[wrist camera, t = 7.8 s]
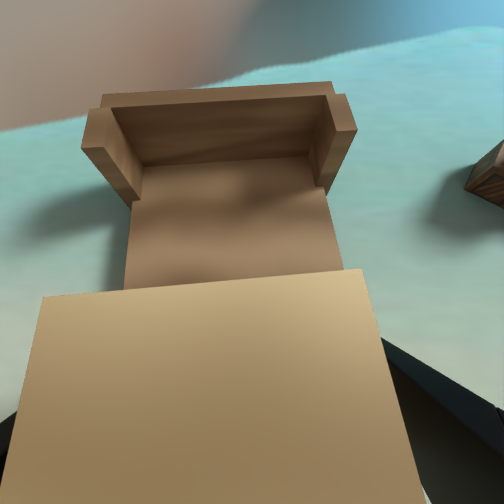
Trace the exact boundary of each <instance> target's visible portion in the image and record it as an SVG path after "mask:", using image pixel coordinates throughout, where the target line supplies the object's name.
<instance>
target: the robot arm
mask: <svg viewBox="0 0 504 504" xmlns="http://www.w3.org/2000/svg"><path fill="white" fill-rule="evenodd" d="M380 338H381V337H380ZM381 341H382V345H383V348H384V352H385V356H386V359H387V363H388V367H389V370H390V374H391V377H392V381H393V385H394V388H395V392H396V395H397V399H398V403H399V406H400V410H401V413H402V417H403V421H404V424H405V428H406V432H407V435H408V439H409V442H410V446H411V450H412V453H413V457H414V460H415V464H416V468H417V471H418V475H419V479H420V482H421V485H422V487H423V488H424V490H425V492H426V494H427V496H428V498H429V500H430V502H431V503H432V504H504V411H503V410H502V409H500V408H498V407H495V406H494V405H493V404H491V403H490V402H488V401H486V400H485V399H483V398H481V397H480V396H478V395H476V394H475V393H473V392H471V391H470V390H468V389H466V388H465V387H463V386H461V385H460V384H458V383H456V382H455V381H453V380H451V379H450V378H448V377H446V376H445V375H443V374H441V373H440V372H438V371H436V370H435V369H433V368H431V367H430V366H428V365H426V364H425V363H423V362H421V361H420V360H418V359H416V358H415V357H413V356H411V355H410V354H408V353H406V352H405V351H403V350H401V349H400V348H398V347H396V346H395V345H393V344H391V343H390V342H388V341H386V340H385V339H383V338H381ZM16 415H17V411H16V412H15V413H13V414H12V415H11V416H9V417H8V418H7V419H5V420H4V421H3V422H1V423H0V486H1V481H2V477H3V472H4V468H5V463H6V459H7V455H8V450H9V446H10V441H11V437H12V432H13V428H14V424H15V419H16Z"/></svg>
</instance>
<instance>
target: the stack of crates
mask: <svg viewBox="0 0 504 504" xmlns="http://www.w3.org/2000/svg"><path fill="white" fill-rule="evenodd" d="M464 190H466V191H468V192H471V193H473V194H475V195H477V196H479V197H481V198H483V199H485V200H487V201H489V202H491V203H493V204H495V205H497V206H499V207H501V208H503V209H504V140H503V141H501V142H500V143H499V144H498V145H497V146H496V147H494V148H493V149H492V150H491V151H490V152H489V153H487V154H486V155H485V156H484V157H483V158H481V159H480V160H479V161H478V162H477V163H476V164H475V166H474V168H473V170H472V172H471V175H470V177H469V179H468V181H467V183H466V185H465V187H464Z"/></svg>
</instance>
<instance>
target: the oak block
mask: <svg viewBox="0 0 504 504" xmlns="http://www.w3.org/2000/svg"><path fill="white" fill-rule="evenodd" d="M0 504H426V500H425V497H424V493H423V489H422V486H421V482H420V479H419V475H418V471H417V468H416V464H415V460H414V457H413V453H412V450H411V446H410V442H409V439H408V435H407V432H406V428H405V424H404V421H403V417H402V413H401V410H400V406H399V403H398V399H397V395H396V392H395V388H394V385H393V381H392V377H391V374H390V370H389V367H388V363H387V359H386V356H385V352H384V348H383V345H382V341H381V338H380V334H379V330H378V327H377V323H376V320H375V316H374V312H373V309H372V305H371V301H370V298H369V294H368V291H367V287H366V283H365V280H364V276H363V273H362V269H350V270H339V271H328V272H317V273H306V274H295V275H284V276H273V277H262V278H251V279H240V280H228V281H217V282H206V283H195V284H184V285H173V286H162V287H151V288H140V289H129V290H118V291H107V292H96V293H84V294H73V295H62V296H51V297H43V300H42V304H41V308H40V313H39V317H38V322H37V326H36V331H35V335H34V339H33V344H32V348H31V353H30V357H29V362H28V366H27V370H26V375H25V379H24V384H23V388H22V393H21V397H20V401H19V406H18V410H17V415H16V419H15V424H14V428H13V432H12V437H11V441H10V446H9V450H8V455H7V459H6V463H5V468H4V472H3V477H2V481H1V486H0Z"/></svg>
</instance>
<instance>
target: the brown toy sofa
mask: <svg viewBox="0 0 504 504" xmlns="http://www.w3.org/2000/svg"><path fill="white" fill-rule="evenodd" d="M357 130H358V129H357V126H356V123H355V120H354V118H353V115H352V112H351V109H350V106H349V103H348V100H347V97H346V95H345V94H335V91H334V88H333V85H332V82H331V81H326V82H308V83H291V84H273V85H256V86H238V87H221V88H204V89H186V90H169V91H151V92H135V93H116V94H103V95H102V100H101V106H100V108H96V109H89V113H88V117H87V122H86V126H85V131H84V135H83V140H82V144H81V149H82V150H83V152H84V153H85V154H86V155H87V156H88V158H89V159H90V160H91V161H92V163H93V164H94V165H95V166H96V167H97V169H98V170H99V171H100V172H101V174H102V175H103V176H104V177H105V179H106V180H107V181H108V182H109V183H110V185H111V186H112V187H113V188H114V190H115V191H116V192H117V193H118V194H119V196H120V197H121V198H122V199H123V201H124V202H125V203H126V204H127V206H128V207H129V208H130V209H131V220H130V229H129V239H128V248H127V258H126V267H125V277H124V287H123V290H129V289H140V288H151V287H162V286H173V285H184V284H195V283H206V282H217V281H228V280H240V279H251V278H262V277H273V276H284V275H295V274H306V273H317V272H328V271H339V270H344V268H343V264H342V260H341V256H340V252H339V248H338V244H337V240H336V236H335V231H334V227H333V223H332V219H331V215H330V211H329V207H328V203H327V199H326V196H327V194H328V192H329V190H330V187H331V185H332V183H333V181H334V179H335V177H336V175H337V173H338V171H339V168H340V166H341V164H342V162H343V160H344V158H345V156H346V154H347V152H348V149H349V147H350V145H351V143H352V141H353V139H354V137H355V135H356V133H357Z"/></svg>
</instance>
